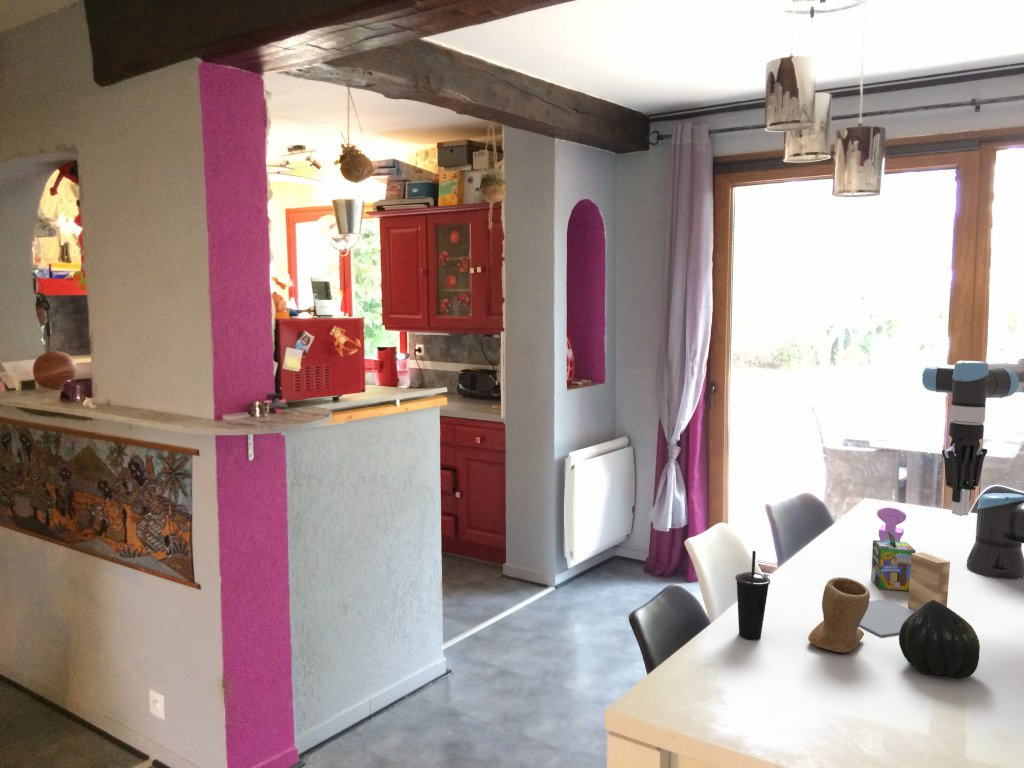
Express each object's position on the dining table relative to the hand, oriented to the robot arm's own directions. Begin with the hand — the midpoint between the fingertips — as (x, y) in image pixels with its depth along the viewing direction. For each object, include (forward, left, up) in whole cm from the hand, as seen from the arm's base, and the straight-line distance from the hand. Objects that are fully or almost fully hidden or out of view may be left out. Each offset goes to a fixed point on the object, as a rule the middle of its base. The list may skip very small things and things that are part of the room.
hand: (960, 514), depth 202 cm
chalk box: (+2, -18, -25) cm, 31 cm away
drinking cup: (+62, -1, -25) cm, 67 cm away
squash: (+35, +26, -25) cm, 50 cm away
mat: (+23, 0, -24) cm, 34 cm away
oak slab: (+9, 0, -24) cm, 26 cm away
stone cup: (+45, +9, -25) cm, 52 cm away
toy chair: (-22, -42, -25) cm, 53 cm away
